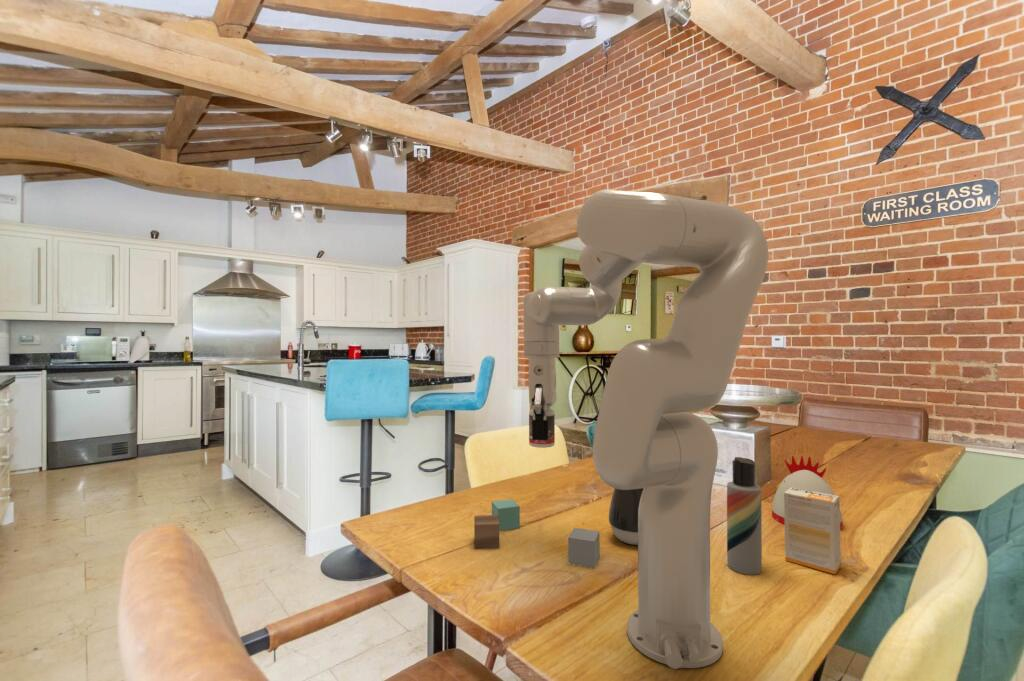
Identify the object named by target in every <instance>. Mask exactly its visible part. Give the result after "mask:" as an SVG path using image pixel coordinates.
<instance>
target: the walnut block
mask: <svg viewBox="0 0 1024 681" xmlns="http://www.w3.org/2000/svg"><path fill="white" fill-rule="evenodd" d="M473 522H474V526H473V527H474V528H473V529H474V533H473V534H474V535H473V536H474V538H473V539H474V542H473V543H474V548H473V549H474V550H485V549H486V550H487V549H488V550H490V549H491V550H492V549H493V550H494V549H500V531H499V518H498V515H492V514H487V515H486V514H484V515H483V514H482V515H480V514H479V515H474V521H473Z"/></svg>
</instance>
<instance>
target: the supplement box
mask: <svg viewBox="0 0 1024 681" xmlns="http://www.w3.org/2000/svg"><path fill="white" fill-rule="evenodd" d="M840 501H841V500H840V496H839V495H836V494H835V495H830V494H825V493H820V492H814V491H809V490H803V489H798V488H793V487H791V488H790V489H788V490H787V491H785V492H784V513H785V525H784V552H785V554H784V556H785V561H786V562H790V563H793V564H797V565H801V566H803V567H804V566H805V567H808V568H812V569H814V570H818V571H822V572H825V573H829V574H832V575H836V574H837V572H839V569H841V564H842V562H841V560H842V558H841V557H842V555H841V530H840V511H841V508H840V504H841V502H840Z"/></svg>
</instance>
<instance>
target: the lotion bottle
mask: <svg viewBox="0 0 1024 681" xmlns="http://www.w3.org/2000/svg"><path fill="white" fill-rule="evenodd" d="M731 466H732V481H729V482H727V484H726V556H727V557H726V559H727V565H728V567H729V568H730V569H731V570H733V571H734V572H736V573H740V574H744V575H758V574H760V573H761V571H762V568H763V567H762V566H763V565H762V563H763V562H762V561H763V559H762V558H763V557H762V555H763V554H762V553H763V552H762V548H763V546H762V545H763V544H762V540H763V539H762V536H763V535H762V530H763V528H762V523H763V522H762V518H763V517H762V511H763V510H762V505H763V504H762V488H761V486H760V485H758V484H756V462H755V461H754V460H752V459H751V458H745V457H739V456H735V457H734V459H733V460H732V464H731Z"/></svg>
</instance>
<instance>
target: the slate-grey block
mask: <svg viewBox="0 0 1024 681" xmlns="http://www.w3.org/2000/svg"><path fill="white" fill-rule="evenodd" d="M567 537H568V538H567V564H568V563H570V564H569V565H572V564H575V565H574V566H578V565H581V566H580V567H584V566H586V568H590V567H591V568H592V569H596V566H597V564H598V561H599V560H600V549H601V548H600V531H599V530H594V529H585V528H578V527H573V529H572V530H571V532H570V533H569V535H568V536H567Z"/></svg>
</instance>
